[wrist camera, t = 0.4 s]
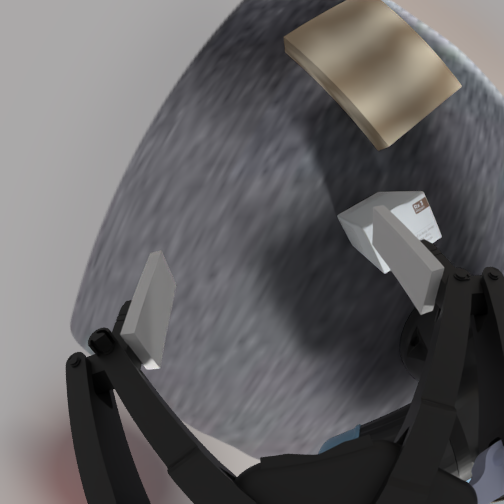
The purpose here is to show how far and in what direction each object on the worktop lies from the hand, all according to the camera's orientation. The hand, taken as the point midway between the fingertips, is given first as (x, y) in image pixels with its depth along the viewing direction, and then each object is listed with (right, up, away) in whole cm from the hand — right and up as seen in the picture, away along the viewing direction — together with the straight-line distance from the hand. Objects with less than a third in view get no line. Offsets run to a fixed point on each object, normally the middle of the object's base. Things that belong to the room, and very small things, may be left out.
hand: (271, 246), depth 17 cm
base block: (+13, +21, +9) cm, 27 cm away
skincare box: (+12, +4, +14) cm, 19 cm away
